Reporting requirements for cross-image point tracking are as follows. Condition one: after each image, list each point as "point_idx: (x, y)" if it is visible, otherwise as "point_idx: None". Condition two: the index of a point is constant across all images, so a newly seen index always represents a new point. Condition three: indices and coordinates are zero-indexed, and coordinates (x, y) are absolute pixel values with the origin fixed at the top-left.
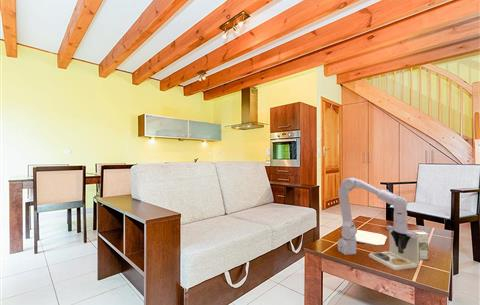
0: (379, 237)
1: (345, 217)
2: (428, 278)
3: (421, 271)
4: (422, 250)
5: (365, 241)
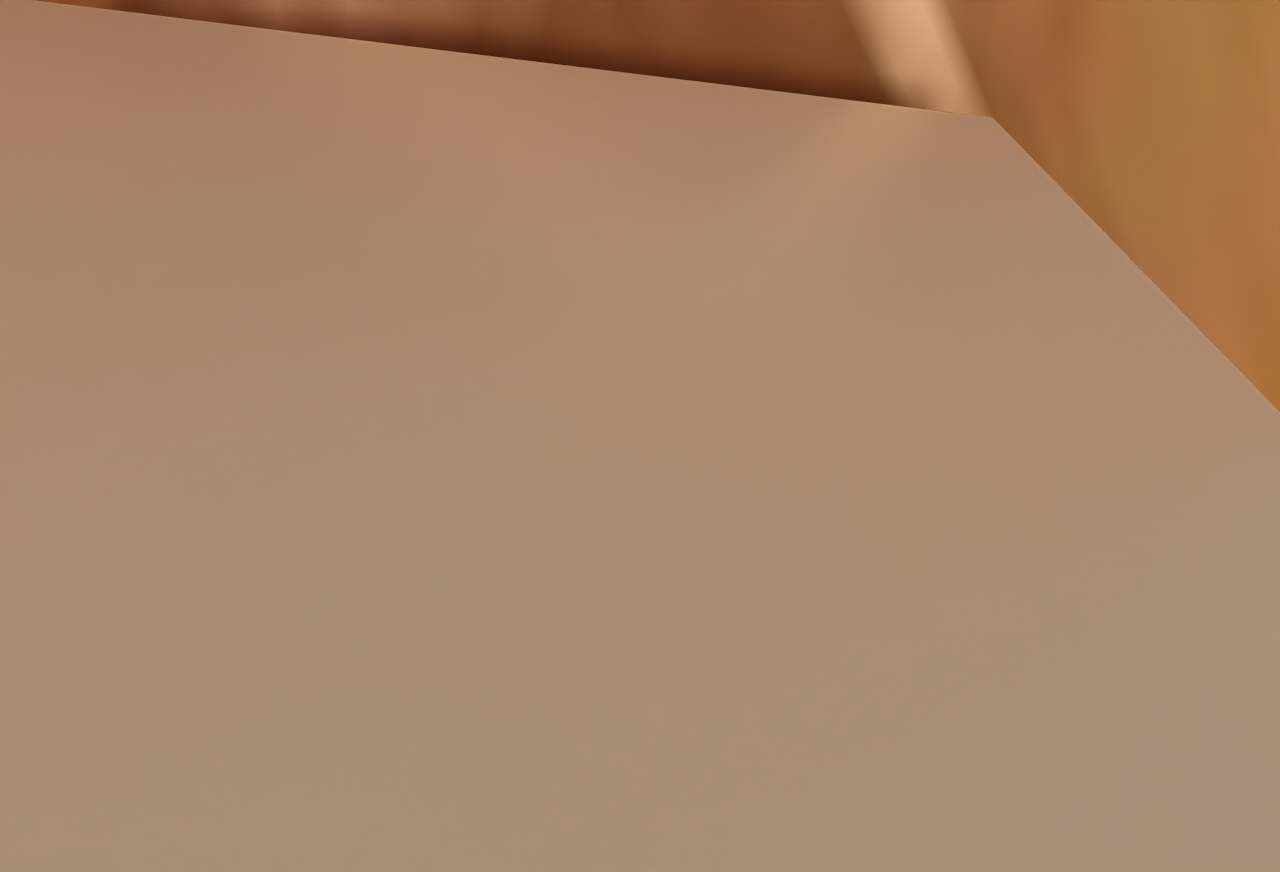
0: None
1: None
2: (1267, 365)
3: (1052, 177)
4: None
5: None
